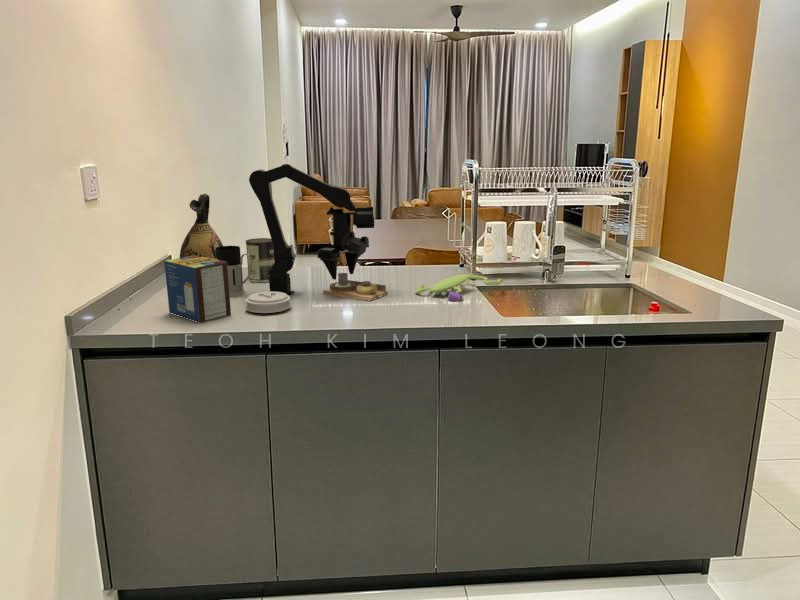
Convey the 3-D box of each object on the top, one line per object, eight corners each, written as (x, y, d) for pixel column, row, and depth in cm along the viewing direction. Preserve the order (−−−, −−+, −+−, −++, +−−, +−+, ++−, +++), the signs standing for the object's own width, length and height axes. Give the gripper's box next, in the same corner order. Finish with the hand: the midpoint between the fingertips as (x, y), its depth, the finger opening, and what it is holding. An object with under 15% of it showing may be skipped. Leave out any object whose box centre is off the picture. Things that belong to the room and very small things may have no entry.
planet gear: (344, 291, 193) (344, 275, 192) (331, 289, 196) (331, 274, 195) (354, 288, 198) (354, 273, 196) (341, 286, 200) (341, 271, 199)
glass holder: (231, 289, 201) (228, 244, 198) (263, 294, 194) (260, 248, 191) (211, 294, 194) (207, 248, 190) (243, 300, 187) (240, 252, 183)
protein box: (200, 306, 181) (196, 254, 177) (231, 315, 171) (227, 261, 167) (168, 313, 173) (162, 260, 169) (199, 323, 163) (194, 267, 159)
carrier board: (369, 301, 186) (369, 286, 185) (323, 294, 195) (322, 280, 194) (387, 294, 194) (387, 280, 193) (341, 287, 203) (341, 274, 202)
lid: (243, 306, 181) (242, 290, 179) (286, 303, 185) (285, 287, 184) (249, 318, 169) (248, 300, 168) (294, 313, 173) (293, 296, 172)
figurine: (509, 294, 196) (510, 277, 195) (443, 306, 182) (443, 287, 181) (473, 283, 211) (473, 267, 210) (409, 293, 197) (409, 276, 196)
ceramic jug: (219, 285, 207) (213, 196, 200) (174, 284, 208) (166, 196, 200) (234, 274, 224) (228, 192, 216) (192, 274, 224) (185, 192, 216)
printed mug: (280, 276, 221) (278, 237, 217) (274, 282, 211) (271, 242, 207) (252, 276, 221) (249, 237, 218) (244, 282, 211) (241, 242, 208)
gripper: (344, 234, 180) (346, 285, 184) (379, 226, 195) (379, 274, 199) (315, 231, 186) (317, 281, 190) (351, 224, 201) (352, 270, 205)
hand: (343, 276), depth 196 cm, fingers open, 9 cm apart
